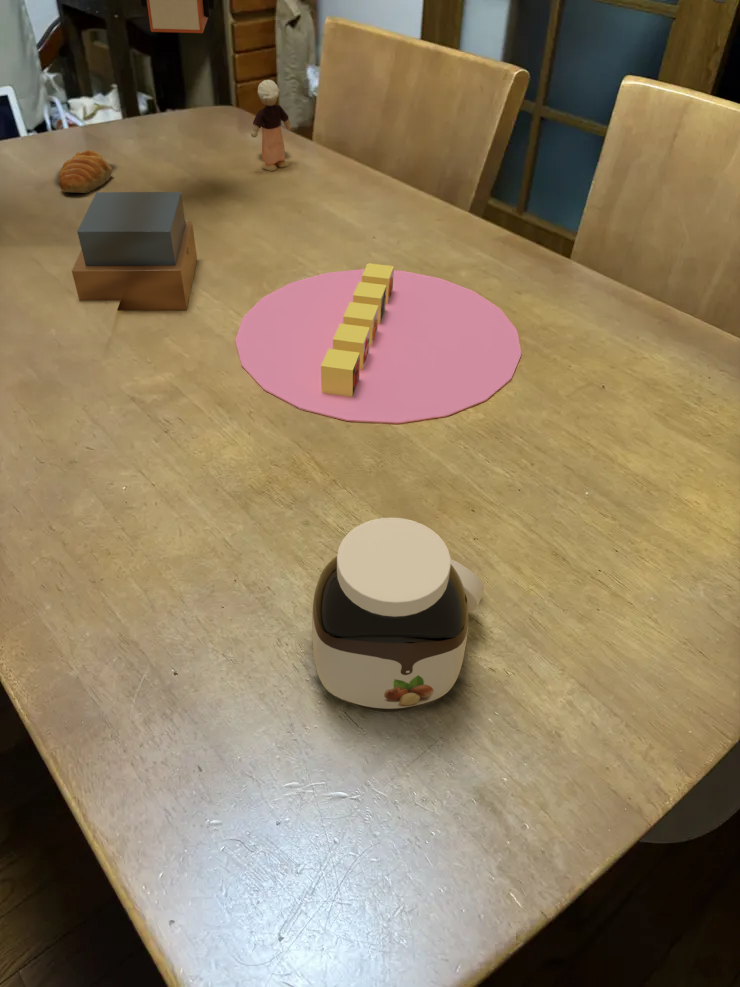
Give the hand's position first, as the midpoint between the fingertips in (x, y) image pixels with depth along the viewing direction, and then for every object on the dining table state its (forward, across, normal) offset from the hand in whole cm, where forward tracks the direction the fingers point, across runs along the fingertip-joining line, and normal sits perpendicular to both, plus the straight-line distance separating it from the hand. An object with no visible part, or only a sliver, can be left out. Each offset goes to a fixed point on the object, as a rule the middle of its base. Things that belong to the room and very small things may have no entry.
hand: (179, 13), depth 98 cm
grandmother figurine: (+23, +11, +9) cm, 27 cm away
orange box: (+1, 0, 0) cm, 1 cm away
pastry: (+23, -17, +2) cm, 29 cm away
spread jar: (+23, +21, -85) cm, 90 cm away
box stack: (+23, -4, -30) cm, 38 cm away
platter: (+23, +24, -43) cm, 54 cm away
